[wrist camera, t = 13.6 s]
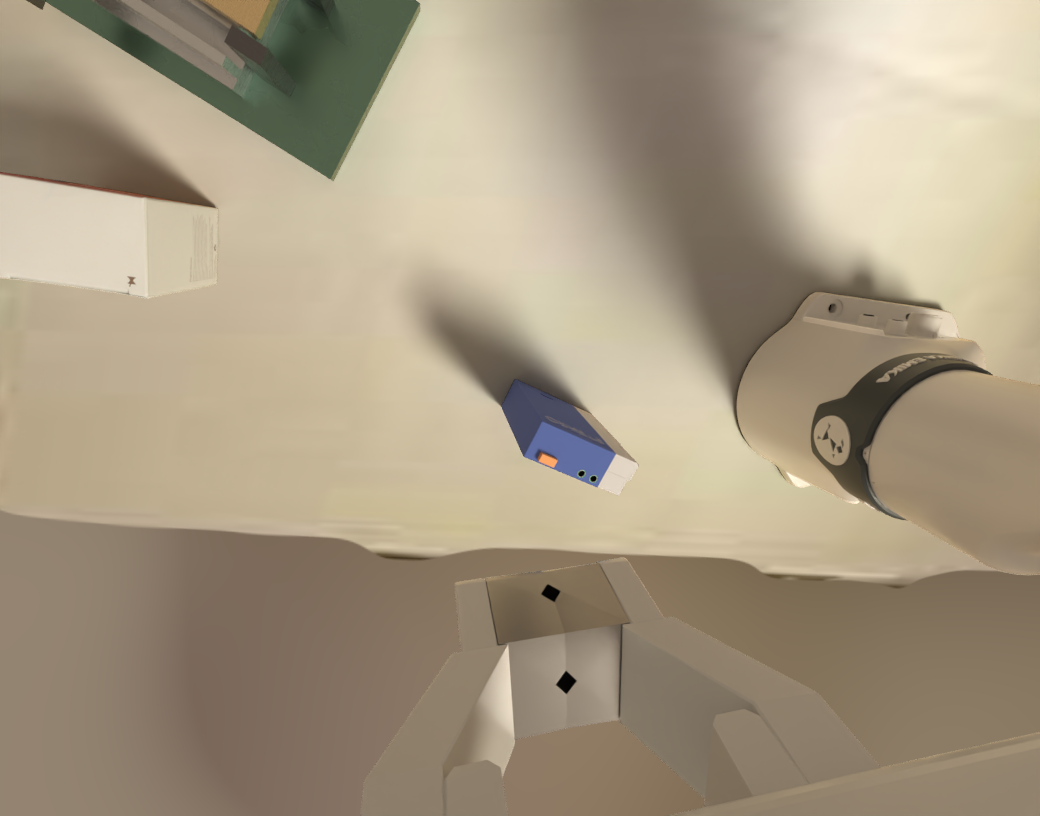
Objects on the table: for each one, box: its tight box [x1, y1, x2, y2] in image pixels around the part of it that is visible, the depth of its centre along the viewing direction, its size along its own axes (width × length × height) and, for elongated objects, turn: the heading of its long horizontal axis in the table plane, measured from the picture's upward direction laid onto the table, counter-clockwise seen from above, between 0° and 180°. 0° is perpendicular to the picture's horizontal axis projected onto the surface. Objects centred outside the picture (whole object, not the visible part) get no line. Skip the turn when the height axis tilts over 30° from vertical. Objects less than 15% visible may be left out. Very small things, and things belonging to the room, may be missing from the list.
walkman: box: [501, 379, 639, 496], centre depth 42 cm, size 8×3×12 cm, turn 63°
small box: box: [0, 172, 218, 299], centre depth 34 cm, size 8×6×10 cm
